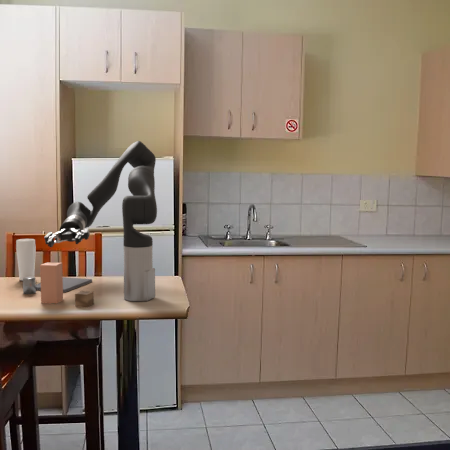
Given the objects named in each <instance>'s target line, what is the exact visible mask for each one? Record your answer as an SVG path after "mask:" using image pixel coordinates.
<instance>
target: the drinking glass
mask: <svg viewBox="0 0 450 450" xmlns="http://www.w3.org/2000/svg"><path fill="white" fill-rule="evenodd" d="M15 243H16V244H15V249H16V250H15V251H16V259H17V261H16V262H17V266H18V267H17V269H18V277H19V280H20V281H22V282H23V278H25V277H35V267H36V266H35V265H36V264H35V263H36V253H37V252H36V249H37V248H36V239H34V238H20V239H19V238H18V239H16V241H15Z"/></svg>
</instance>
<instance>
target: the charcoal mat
mask: <svg viewBox="0 0 450 450" xmlns="http://www.w3.org/2000/svg"><path fill="white" fill-rule="evenodd" d="M91 283H93V279H92V278H83V277H82V278H81V277H80V278H78V277H66V276H63V293H67V292H70V291H72V290H75V289H77V288H80V287H82V286H85V285H87V284H91ZM36 291H41V282H38V283H36Z"/></svg>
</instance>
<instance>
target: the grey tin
mask: <svg viewBox="0 0 450 450" xmlns="http://www.w3.org/2000/svg"><path fill="white" fill-rule="evenodd" d="M36 280H37V279H36V277H35V276H34V277H25V278H23V281H22V292H23V293H22V294H23V295H34V294H37V293H36V292H37V290H36V284H37V282H36Z"/></svg>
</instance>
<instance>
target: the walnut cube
mask: <svg viewBox="0 0 450 450" xmlns="http://www.w3.org/2000/svg"><path fill="white" fill-rule="evenodd" d="M94 295H95V294H94V291H89V290H81V291H79V292H75V293H74V301H75V304H74V305H75V307H80V308H88V307H92V306H93V305H94V304H95V302H94V301H95V300H94Z"/></svg>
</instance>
